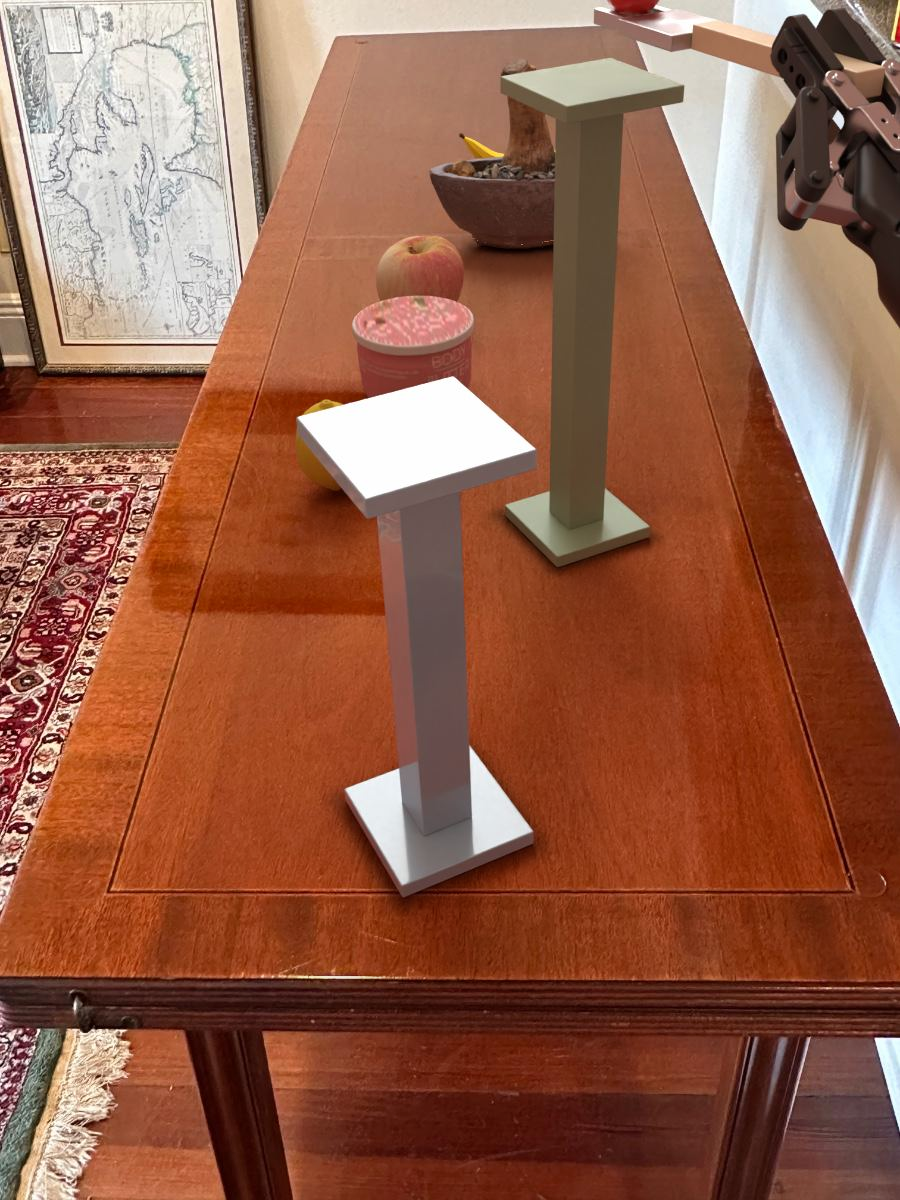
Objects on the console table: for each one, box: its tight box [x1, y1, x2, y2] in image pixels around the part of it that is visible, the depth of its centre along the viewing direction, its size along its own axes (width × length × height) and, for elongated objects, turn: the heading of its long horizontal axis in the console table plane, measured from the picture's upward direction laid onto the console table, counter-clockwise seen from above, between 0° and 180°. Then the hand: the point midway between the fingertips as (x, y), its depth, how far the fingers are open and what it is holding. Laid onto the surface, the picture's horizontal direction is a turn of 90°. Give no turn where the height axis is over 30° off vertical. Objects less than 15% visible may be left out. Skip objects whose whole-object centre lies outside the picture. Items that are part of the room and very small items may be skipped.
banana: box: [458, 132, 555, 159], centre depth 153 cm, size 3×19×6 cm, turn 95°
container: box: [351, 296, 475, 399], centre depth 105 cm, size 10×10×8 cm
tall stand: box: [499, 57, 685, 568], centre depth 81 cm, size 8×8×32 cm
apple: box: [375, 235, 465, 302], centre depth 119 cm, size 9×9×8 cm
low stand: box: [296, 377, 538, 898], centre depth 60 cm, size 8×8×25 cm
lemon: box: [294, 399, 344, 492], centre depth 94 cm, size 6×6×8 cm
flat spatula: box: [593, 0, 885, 98], centre depth 59 cm, size 20×4×4 cm, turn 27°
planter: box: [429, 58, 555, 250], centre depth 131 cm, size 15×17×20 cm
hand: (804, 28), depth 54 cm, fingers closed on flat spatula
